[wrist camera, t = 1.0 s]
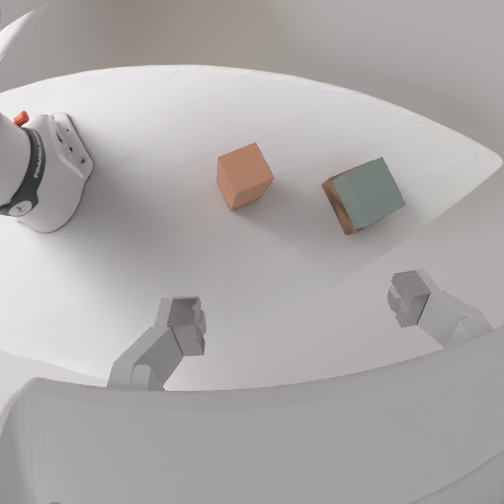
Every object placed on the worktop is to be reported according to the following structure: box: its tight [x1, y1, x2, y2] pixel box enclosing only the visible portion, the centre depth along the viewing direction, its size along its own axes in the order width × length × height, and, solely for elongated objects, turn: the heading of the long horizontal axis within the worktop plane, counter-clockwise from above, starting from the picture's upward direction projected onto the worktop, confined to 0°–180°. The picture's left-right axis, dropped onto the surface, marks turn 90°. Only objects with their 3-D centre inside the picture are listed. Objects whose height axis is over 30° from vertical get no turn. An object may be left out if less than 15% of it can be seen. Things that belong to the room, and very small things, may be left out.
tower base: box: [322, 160, 373, 235], centre depth 43 cm, size 9×9×4 cm
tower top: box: [332, 157, 406, 230], centre depth 39 cm, size 8×8×4 cm
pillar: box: [217, 143, 274, 211], centre depth 37 cm, size 5×5×10 cm
